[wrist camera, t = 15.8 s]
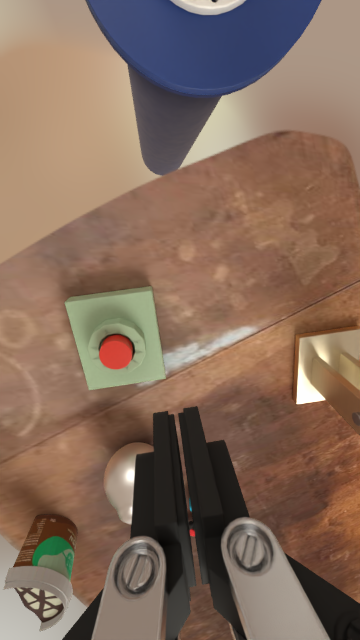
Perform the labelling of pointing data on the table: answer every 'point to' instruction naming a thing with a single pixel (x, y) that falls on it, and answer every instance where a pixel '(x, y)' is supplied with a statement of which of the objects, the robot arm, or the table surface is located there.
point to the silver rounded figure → (123, 478)
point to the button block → (117, 319)
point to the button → (116, 352)
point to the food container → (45, 568)
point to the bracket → (329, 371)
